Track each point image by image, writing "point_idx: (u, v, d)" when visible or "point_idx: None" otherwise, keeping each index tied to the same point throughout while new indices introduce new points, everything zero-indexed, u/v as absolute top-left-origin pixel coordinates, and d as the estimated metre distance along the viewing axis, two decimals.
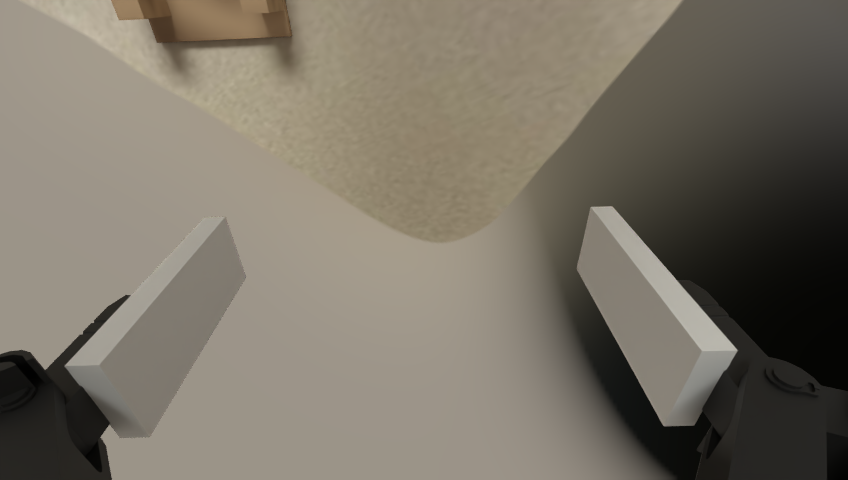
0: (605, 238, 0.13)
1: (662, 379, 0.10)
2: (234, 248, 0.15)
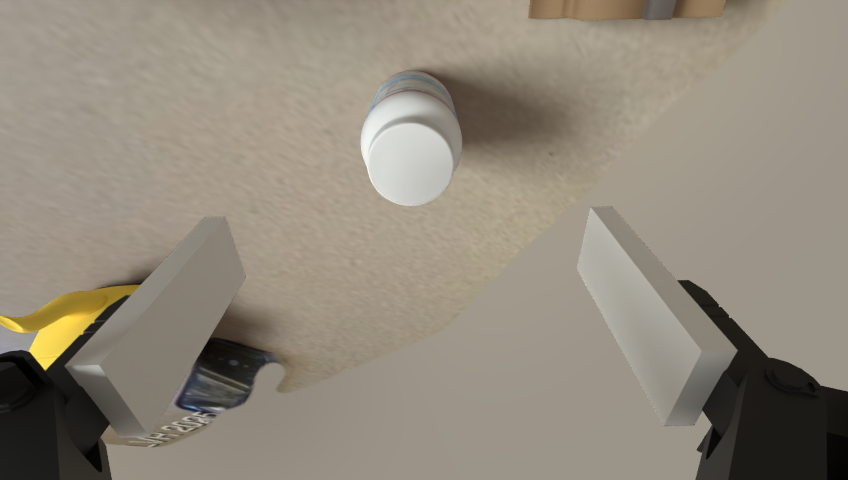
0: (605, 239, 0.13)
1: (662, 379, 0.10)
2: (234, 247, 0.15)
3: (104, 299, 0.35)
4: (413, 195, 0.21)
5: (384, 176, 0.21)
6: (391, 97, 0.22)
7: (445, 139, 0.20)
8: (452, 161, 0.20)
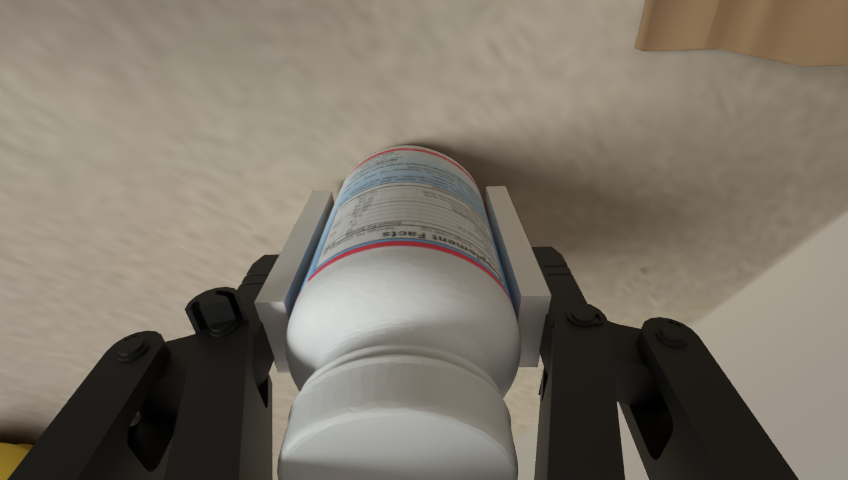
0: (491, 213, 0.14)
1: None
2: None
3: None
4: None
5: None
6: (352, 266, 0.09)
7: (498, 432, 0.07)
8: (514, 476, 0.07)
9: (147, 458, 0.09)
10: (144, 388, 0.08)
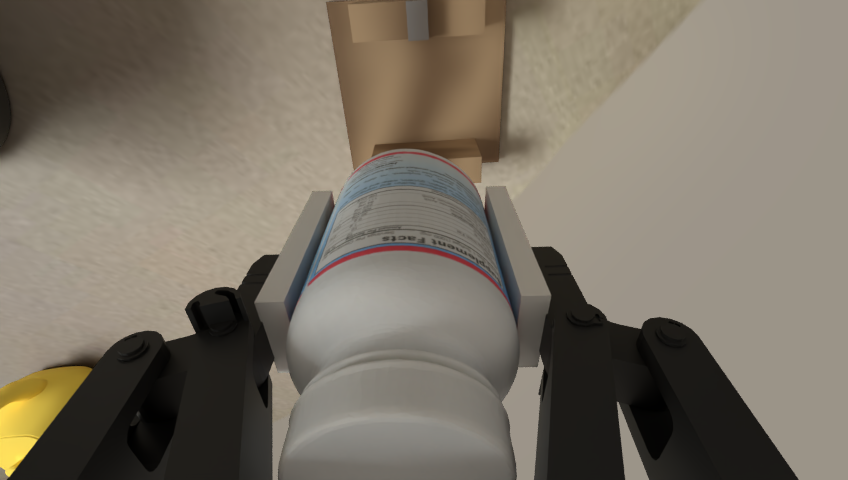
0: (490, 213, 0.14)
1: None
2: None
3: (44, 384, 0.42)
4: None
5: None
6: (351, 271, 0.09)
7: (496, 437, 0.07)
8: None
9: (147, 458, 0.09)
10: (144, 388, 0.08)
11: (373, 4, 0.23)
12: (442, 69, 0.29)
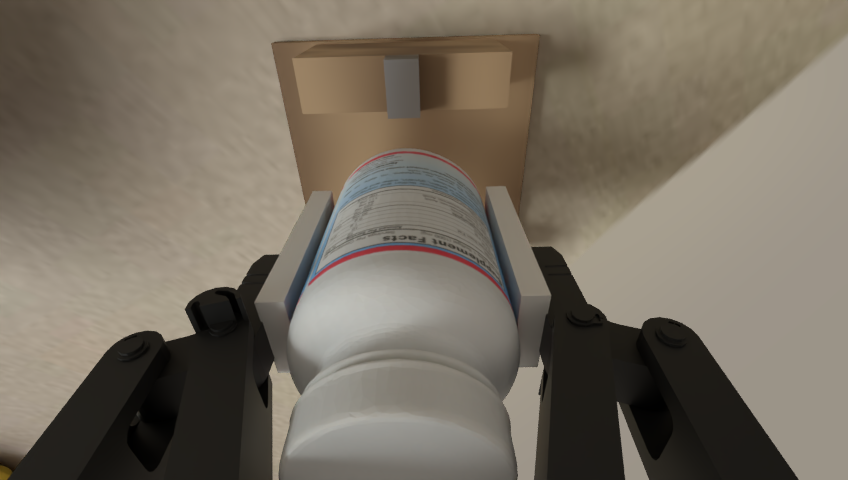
0: (491, 213, 0.14)
1: None
2: None
3: None
4: None
5: None
6: (352, 271, 0.09)
7: (498, 436, 0.07)
8: (513, 479, 0.07)
9: (147, 458, 0.09)
10: (144, 388, 0.08)
11: (333, 59, 0.14)
12: (440, 139, 0.20)
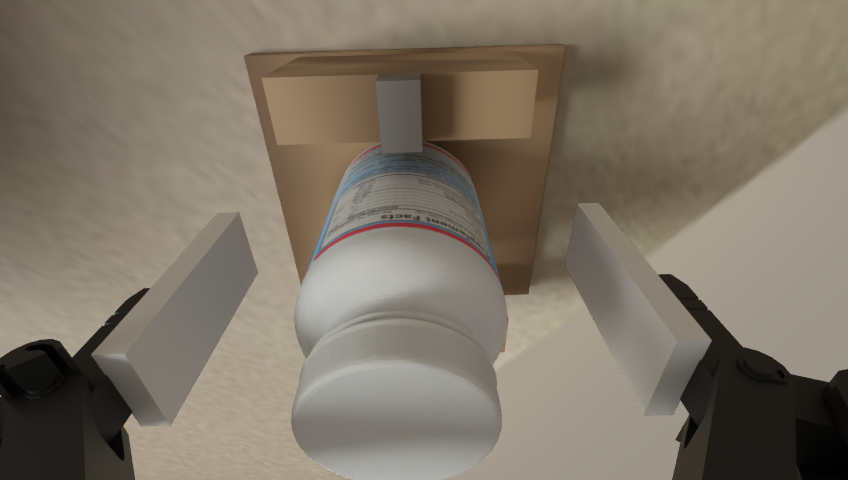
0: (590, 234, 0.13)
1: (642, 370, 0.10)
2: (247, 243, 0.15)
3: None
4: (405, 472, 0.09)
5: (335, 448, 0.09)
6: (354, 245, 0.10)
7: (483, 383, 0.08)
8: (498, 423, 0.08)
9: None
10: None
11: (313, 79, 0.11)
12: None
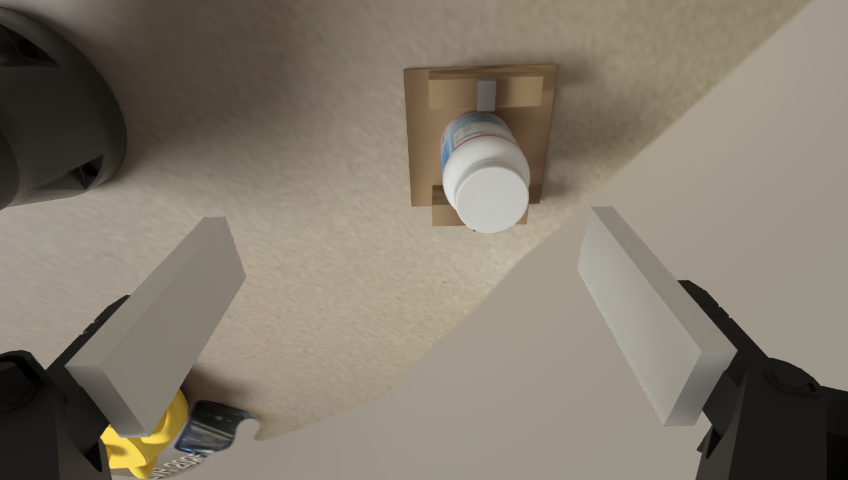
0: (604, 239, 0.13)
1: (662, 379, 0.10)
2: (234, 248, 0.15)
3: None
4: (492, 224, 0.25)
5: (469, 209, 0.25)
6: (472, 141, 0.26)
7: (523, 178, 0.24)
8: (527, 196, 0.24)
9: None
10: None
11: (449, 80, 0.28)
12: None
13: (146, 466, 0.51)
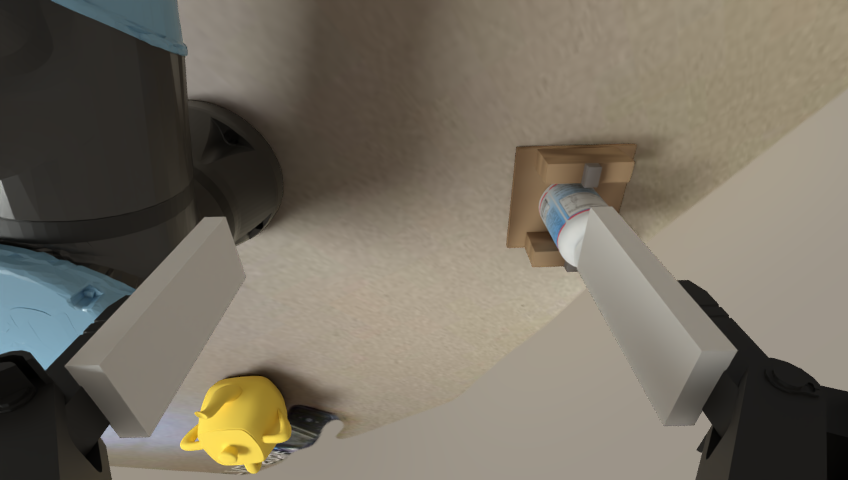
0: (605, 239, 0.13)
1: (662, 379, 0.10)
2: (234, 247, 0.15)
3: (240, 389, 0.55)
4: None
5: None
6: (586, 214, 0.35)
7: None
8: None
9: None
10: None
11: (564, 164, 0.36)
12: None
13: (256, 463, 0.59)
